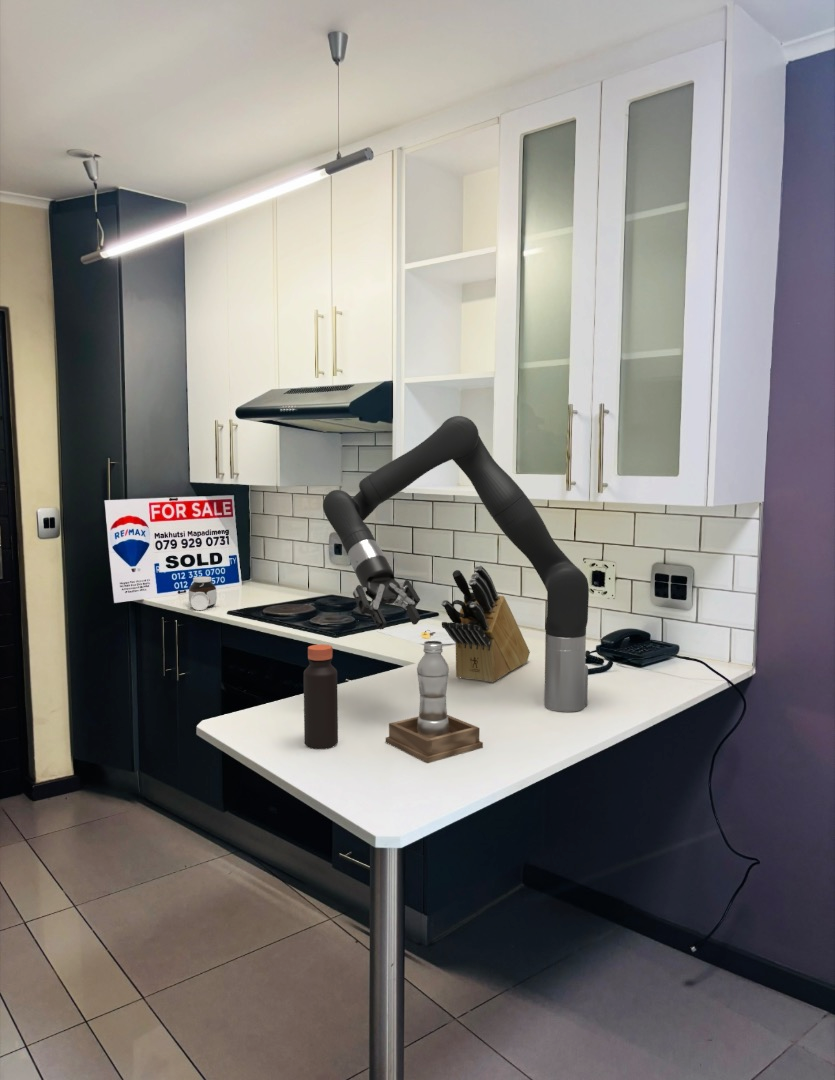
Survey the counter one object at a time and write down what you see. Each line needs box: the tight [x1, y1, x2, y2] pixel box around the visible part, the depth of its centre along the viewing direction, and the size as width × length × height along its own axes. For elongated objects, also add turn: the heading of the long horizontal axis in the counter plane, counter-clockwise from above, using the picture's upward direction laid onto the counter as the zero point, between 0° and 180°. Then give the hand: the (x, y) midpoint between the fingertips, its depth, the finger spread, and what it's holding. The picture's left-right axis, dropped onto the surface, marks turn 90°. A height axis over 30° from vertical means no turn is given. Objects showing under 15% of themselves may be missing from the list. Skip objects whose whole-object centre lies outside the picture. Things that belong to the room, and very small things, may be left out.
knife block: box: [441, 564, 531, 684], centre depth 215 cm, size 11×35×31 cm, turn 150°
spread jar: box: [188, 576, 218, 611], centre depth 311 cm, size 12×11×12 cm
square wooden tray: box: [385, 714, 484, 764], centre depth 162 cm, size 14×14×4 cm
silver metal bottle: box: [416, 640, 450, 739], centre depth 162 cm, size 6×7×20 cm
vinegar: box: [303, 644, 339, 750], centre depth 162 cm, size 7×7×20 cm
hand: (400, 624), depth 170 cm, fingers open, 8 cm apart
